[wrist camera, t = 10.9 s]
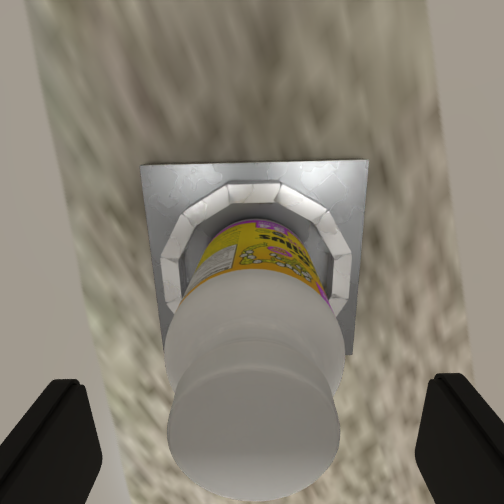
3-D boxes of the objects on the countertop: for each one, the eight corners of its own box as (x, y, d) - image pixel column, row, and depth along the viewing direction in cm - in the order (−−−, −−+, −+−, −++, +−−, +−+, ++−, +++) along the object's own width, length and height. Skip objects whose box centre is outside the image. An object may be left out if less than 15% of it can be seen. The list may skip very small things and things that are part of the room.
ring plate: (145, 164, 20) (130, 167, 18) (363, 158, 20) (377, 161, 18) (168, 349, 24) (158, 372, 22) (348, 346, 24) (358, 369, 22)
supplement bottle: (329, 275, 21) (428, 460, 9) (248, 331, 23) (238, 557, 10) (264, 191, 20) (277, 281, 7) (180, 258, 21) (76, 425, 9)
